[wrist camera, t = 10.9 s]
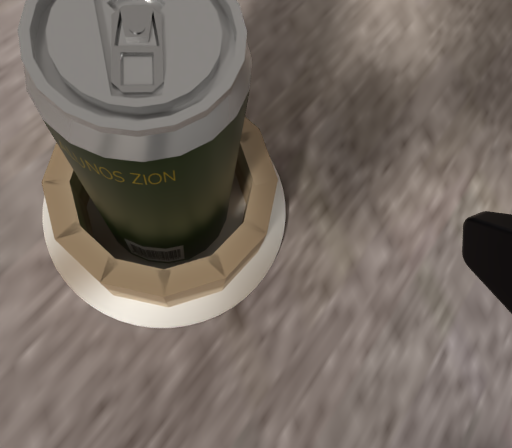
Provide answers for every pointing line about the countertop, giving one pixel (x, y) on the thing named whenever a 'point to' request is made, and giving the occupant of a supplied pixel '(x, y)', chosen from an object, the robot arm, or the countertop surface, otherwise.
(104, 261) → the can holder
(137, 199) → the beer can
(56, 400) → the countertop surface
